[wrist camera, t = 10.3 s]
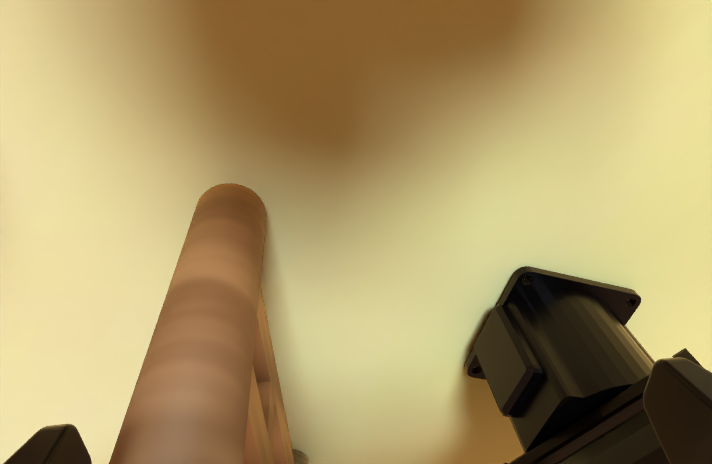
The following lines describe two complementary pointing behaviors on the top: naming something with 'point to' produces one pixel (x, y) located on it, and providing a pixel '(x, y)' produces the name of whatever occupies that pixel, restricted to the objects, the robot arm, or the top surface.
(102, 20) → the top surface
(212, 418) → the gate
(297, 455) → the hinge post
